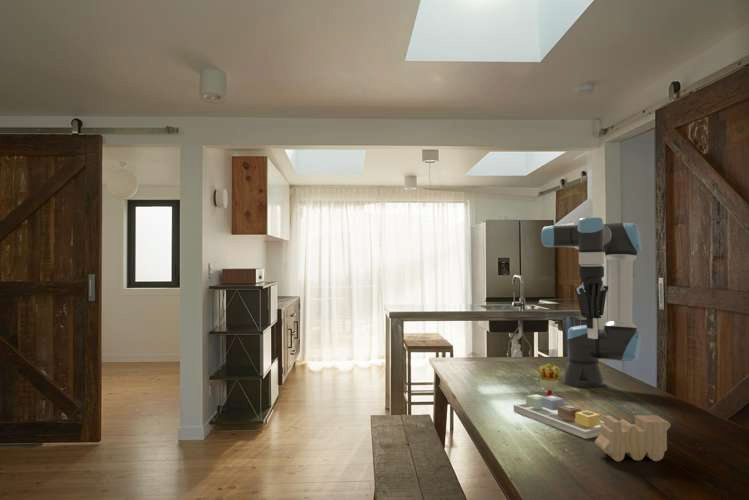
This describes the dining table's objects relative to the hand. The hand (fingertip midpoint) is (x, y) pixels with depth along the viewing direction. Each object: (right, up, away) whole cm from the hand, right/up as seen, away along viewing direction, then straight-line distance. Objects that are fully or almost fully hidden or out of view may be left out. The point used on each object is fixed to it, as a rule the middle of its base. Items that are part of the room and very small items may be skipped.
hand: (592, 338), depth 169 cm
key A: (-7, -23, -14) cm, 28 cm away
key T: (-10, -23, -8) cm, 27 cm away
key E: (-17, -23, +5) cm, 29 cm away
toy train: (-4, -25, -34) cm, 43 cm away
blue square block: (-14, -22, -2) cm, 26 cm away
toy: (-8, -26, +16) cm, 31 cm away
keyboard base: (-12, -25, -5) cm, 28 cm away
